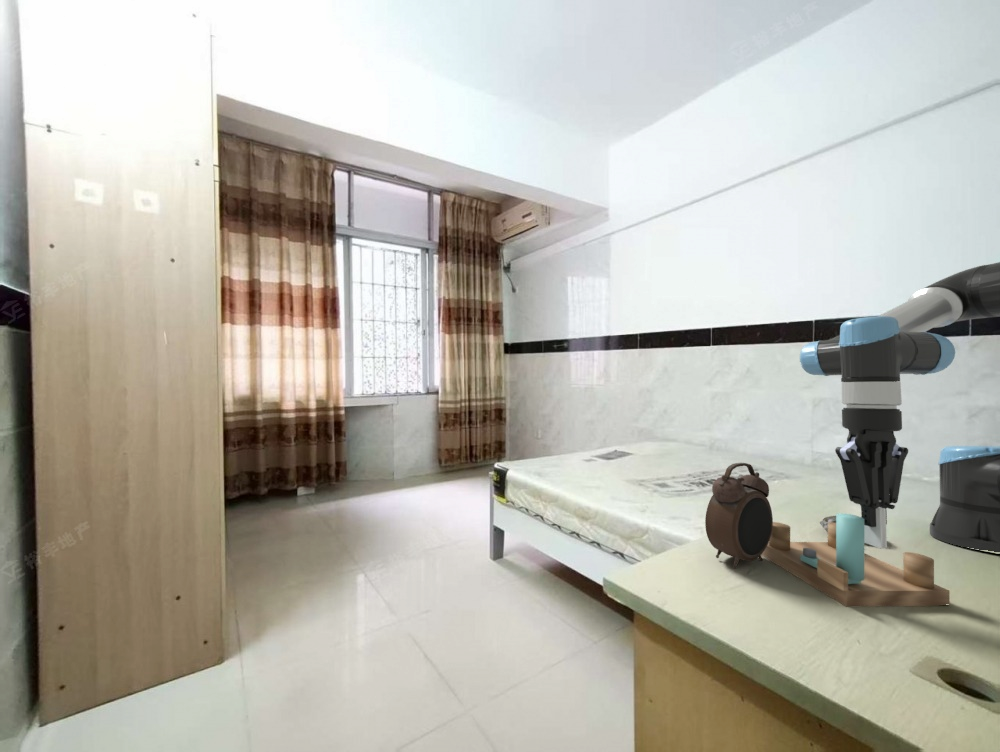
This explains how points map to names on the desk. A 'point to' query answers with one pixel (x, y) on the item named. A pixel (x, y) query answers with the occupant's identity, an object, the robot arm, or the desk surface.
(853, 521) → the hinged leg
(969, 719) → the desk surface
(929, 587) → the stool seat
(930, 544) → the desk surface
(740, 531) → the alarm clock
